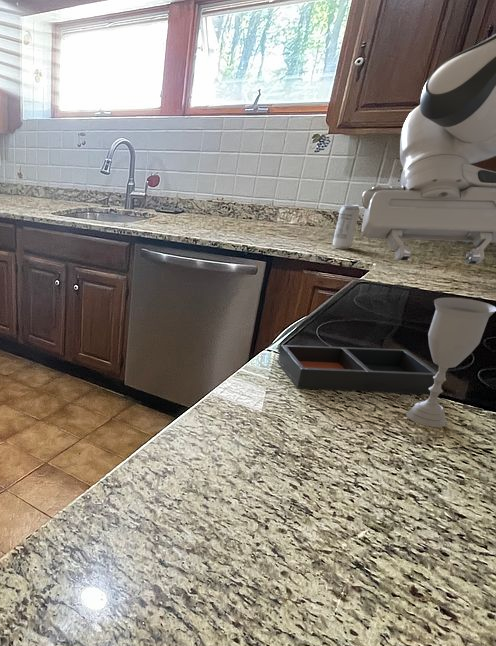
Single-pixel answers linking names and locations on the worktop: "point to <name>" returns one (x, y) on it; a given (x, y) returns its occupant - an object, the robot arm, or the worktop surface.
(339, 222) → the energy drink can
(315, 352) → the tray
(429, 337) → the chalice
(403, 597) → the worktop surface
